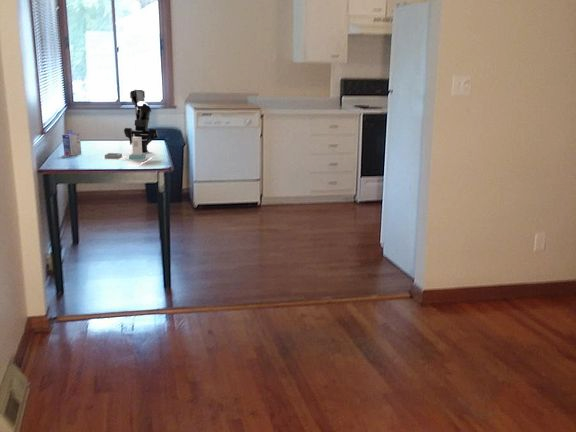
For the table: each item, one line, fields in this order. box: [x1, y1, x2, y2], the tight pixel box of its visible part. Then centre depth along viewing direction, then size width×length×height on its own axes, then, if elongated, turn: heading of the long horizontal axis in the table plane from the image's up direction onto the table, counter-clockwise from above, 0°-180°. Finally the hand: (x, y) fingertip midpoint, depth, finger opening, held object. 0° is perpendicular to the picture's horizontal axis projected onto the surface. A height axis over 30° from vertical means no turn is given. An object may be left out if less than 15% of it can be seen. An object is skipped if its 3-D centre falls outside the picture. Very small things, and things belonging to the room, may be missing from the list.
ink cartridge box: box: [61, 129, 82, 157], centre depth 363 cm, size 10×6×14 cm, turn 161°
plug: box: [131, 136, 143, 156], centre depth 348 cm, size 5×4×12 cm
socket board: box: [101, 152, 150, 163], centre depth 350 cm, size 24×12×3 cm, turn 87°
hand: (138, 144), depth 352 cm, fingers open, 9 cm apart
